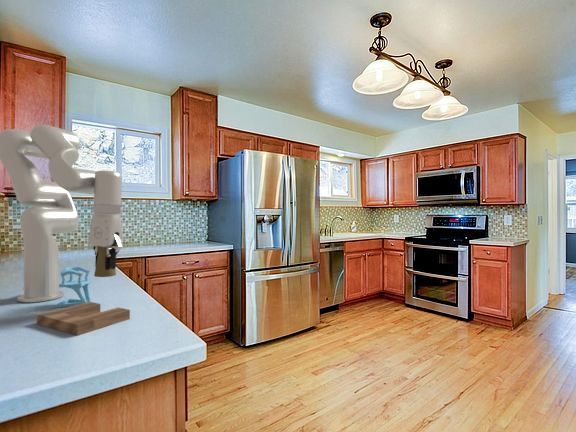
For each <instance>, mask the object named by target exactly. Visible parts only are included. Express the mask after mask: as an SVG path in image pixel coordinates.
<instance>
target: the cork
mask: <svg viewBox="0 0 576 432" xmlns="http://www.w3.org/2000/svg"><path fill="white" fill-rule="evenodd" d="M110 246H114V244H112V245H110ZM97 249H98V251H99V252H98V257H97V263H96V267H95V270H94V273H93V274H94V275H93V276H94V277H96V278H108V277H110V278H111V277H114V276H116V275H117V271H116V268H115V269H112V268H110V269H109V270H106V269H105V257H107V251H106V247H100V246H97ZM112 249H113V248H110V251H111V250H112Z"/></svg>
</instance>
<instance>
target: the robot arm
mask: <svg viewBox="0 0 576 432" xmlns="http://www.w3.org/2000/svg"><path fill="white" fill-rule="evenodd" d="M80 147H81V142H80V139H79V137H78V135H77V134H76V133H74V132H73V131H70V130H68V129H65V128H64V129H63V128H61V127H57V126H52V125H47V124H39V125H36V126H34V127H32V129H31V130H30V131H27V130H23V129H17V128H6V129H3V130H1V131H0V162H1V164H2V166H3V167H4V169H5V170H6V172H7V174H8V176H9V179H10V183H11V186H12V188H13V191H14V194H15V196H16V199H17V200H18V202H19V204H21V205H22V206H25V207H28V208H26V209H25V210H23V211H22V212H21V213H20V215H19V224H20V228H21V232H22V239H23V287H22V290H23V294H21V295H19V296H18V297H17V302H19V303H39V302H47V301H53V300H57V299H59V298H63V296H64V295H65V294H64V291H63V290H59V246H58V242H57V241H56V239H55V238H54V236H53V234H54V235H55V234H69V233H72V232H74V231H77V229H78V227H79V224H80V216H79V213H78V210H77V208H76V206H75V205H76V204H75V203H74V200H73V197H72V194H71V193H73V194H86V195H93V209H92V211H93V214H92V216H91V220H90V226H89V237H88V243H89V245H90V246H91V247H92V248H93V251H94V256H95V260H94V261H95V265H94V266H95V268H96V263H97V257H98V252H99V251H98V249H97V246H100V247H106V251H107V257H105V269H106V270H109V269H110V268H112V269H115V270H116V267H117V266H116V265H117V256H118V253H119V252H120V250H122V249H123V244H122V241H123V226H122V225H123V224H122V217H121V216H122V215H121V214H122V212H121V211H122V209H121V208H122V187H123V186H122V183H123V182H122V180H123V178H122V176H123V175H122V174H121V173H120V172H119V171H114V170H113V171H112V170H97V171H95V170H89V169H83V168H77V167H76V168H75V167H73V165H74V164H76V162H78V160H79V155H80V153H79V149H80ZM28 156H29V157H34V158H35V157H36V158H41V159H48V160H49V162H48V172H49V175H50V177H51V179H52V180H53V181H50V180H44V179H43V178H42V176H41V174H40V170H39V169H38V167H37V166H36V165H35V163H34V162H32V161H31V160H30V159H29V158H27V157H28ZM112 244H114V246H110V245H112ZM110 248H113V249H112V250H111V251H110Z"/></svg>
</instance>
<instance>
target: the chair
mask: <svg viewBox="0 0 576 432" xmlns="http://www.w3.org/2000/svg"><path fill="white" fill-rule="evenodd" d="M79 271H80V272H79ZM90 271H91V270H90V269H89V270H88V269H85V268H83V267H79V266H74V267H70V266H67V267H65V268H63V269H62V270H61V272H60V276H61V279H62V281H61V283H58V288H68V289H71V290H73V291H74V292H75V293H76V295H77V296H78V297H79V298H67V299H65V300H62V301H61V302H59V303H57V304H55V305H54V306H55V309H58V308H59V309H60V308H66V307H70V306H75V305H79V304H83V303H87V302H92V299H91V294H90V291H89V285H90V284H91V281H92V280H91V279H89V273H90ZM83 272H84V273H86V274H85V276H84V280H82V276H83ZM67 275H69V280H67V281H66V277H65V276H67ZM73 275H75V276H78V278H77V280H74V276H73ZM81 288H82V289H83V292H82V289H81ZM83 293H84V294H83Z"/></svg>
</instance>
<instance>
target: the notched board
mask: <svg viewBox="0 0 576 432" xmlns="http://www.w3.org/2000/svg"><path fill="white" fill-rule="evenodd" d="M130 317H131V310H130V309H129V308H128V309H127V308H124V307H115V308H111V309H107V310H103V311H101V303H96V302H93V301H91V302H87V303H83V304H79V305H75V306H69V307H61V308H59V309H58V308H57V309H54V310H49V311H46V312H42V313H37V314H36V324H37V325H40V326H43V327H46V328H50V329H54V330H57V331H61V332H65V333H68V334H72V335H75V336H80V334H81V335H84V334H86V333H89V332H93V331H95V330H99V329H102V328H105V327H108V326H111V325H115V324H118V323H121V322H124V321H127V320H131V319H130Z"/></svg>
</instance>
